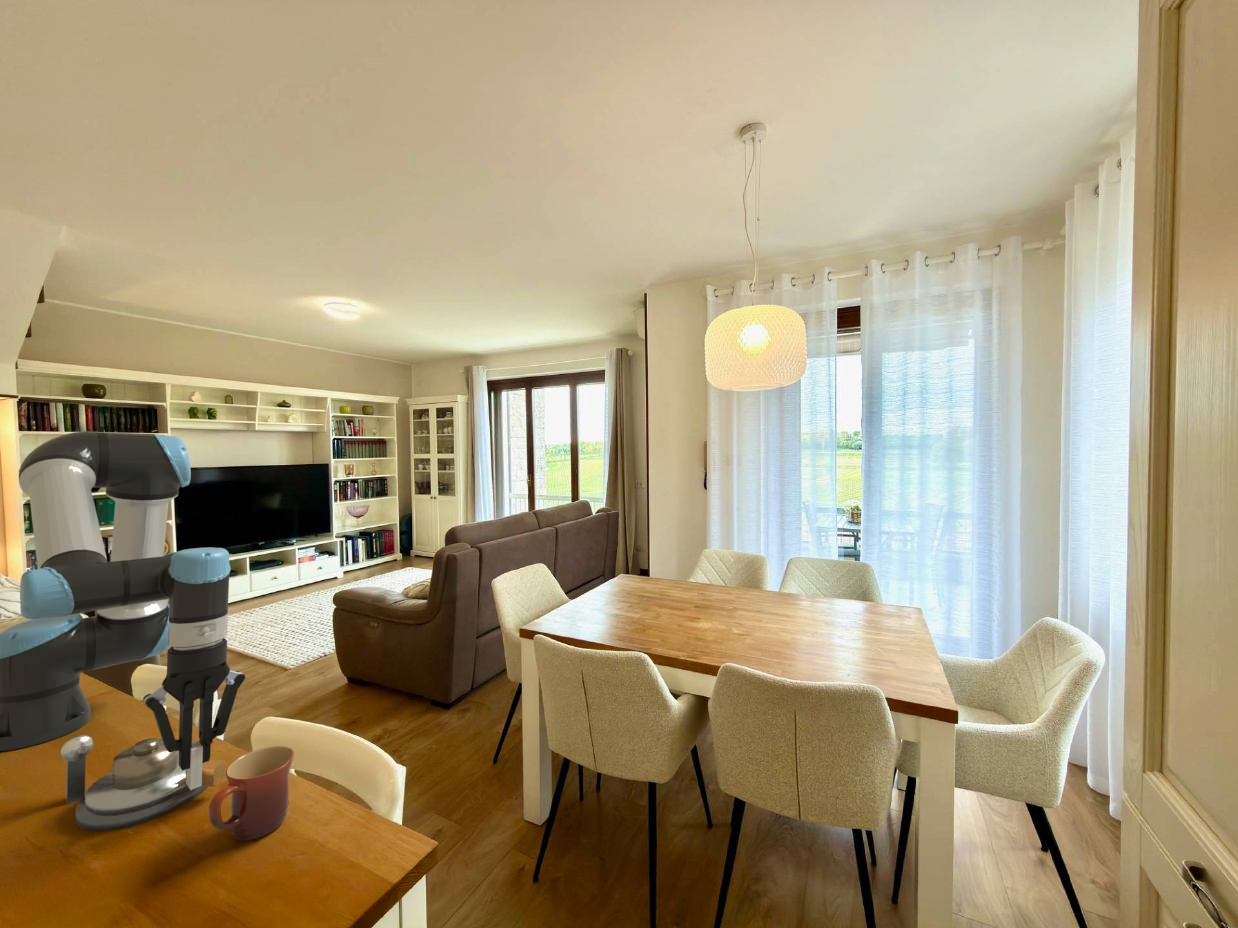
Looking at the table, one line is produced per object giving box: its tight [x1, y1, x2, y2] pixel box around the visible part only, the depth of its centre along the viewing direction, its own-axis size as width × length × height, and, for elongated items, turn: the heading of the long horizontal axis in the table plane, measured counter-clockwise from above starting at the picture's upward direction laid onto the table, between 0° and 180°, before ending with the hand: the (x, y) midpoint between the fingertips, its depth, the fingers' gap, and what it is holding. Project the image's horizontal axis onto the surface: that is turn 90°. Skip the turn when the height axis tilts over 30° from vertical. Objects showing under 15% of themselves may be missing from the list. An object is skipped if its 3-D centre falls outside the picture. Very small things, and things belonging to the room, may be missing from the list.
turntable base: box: [74, 758, 211, 832], centre depth 83 cm, size 17×17×2 cm
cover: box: [112, 737, 177, 790], centre depth 83 cm, size 8×8×6 cm
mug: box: [208, 745, 295, 841], centre depth 75 cm, size 12×9×10 cm
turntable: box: [85, 751, 227, 815], centre depth 83 cm, size 20×15×4 cm
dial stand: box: [60, 734, 94, 805], centre depth 82 cm, size 3×4×11 cm
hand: (193, 784), depth 80 cm, fingers closed
